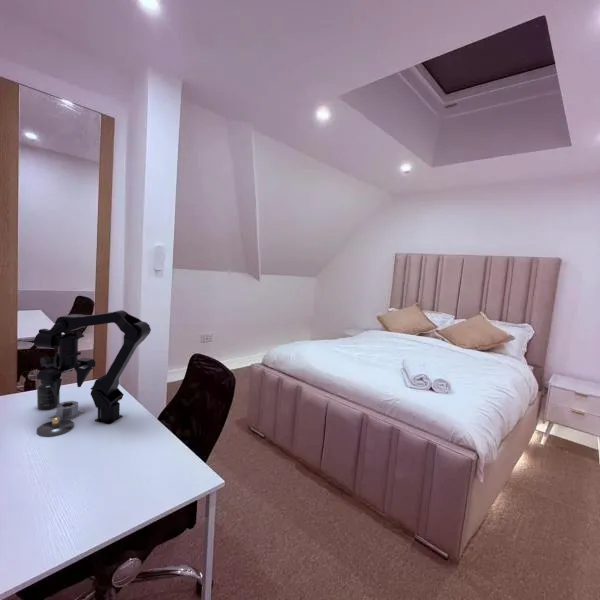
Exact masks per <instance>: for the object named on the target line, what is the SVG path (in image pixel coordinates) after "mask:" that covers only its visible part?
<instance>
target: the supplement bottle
mask: <svg viewBox="0 0 600 600" xmlns="http://www.w3.org/2000/svg"><path fill="white" fill-rule="evenodd" d="M39 381H40V382H39V383H40V384H39V385H37V387H36V397H37V398H36V399H37V402H36V403H37V404H36V405H37V409H38V410H39V411H49V410H53V409H54V410H55V409H56V408H57V405H58V404H60V403H61V402H60V401H61V400H60V395H61V391H59V395H58V396H54V394H53V391H52V389H51V387H50V386H49V384H48V383H47V382H46V381H42V380H39Z"/></svg>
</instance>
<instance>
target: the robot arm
mask: <svg viewBox="0 0 600 600" xmlns="http://www.w3.org/2000/svg"><path fill="white" fill-rule="evenodd" d="M112 323H114V324H115V325H116V326H117V328H118V329H119V330H120V331H121V332H122V333H124V335H123V343H122V346H121V347H120V349H119V351H118V352H117V355H116V356H115V358H114V360H113V362H112V363H111V365H110V367H109V368H108V370H107V372H106V374H104V375H102V376H101V377H98V378H97V379H95V381H94V383H93V386H92V387H91V388H90V390H91V391H90V396H91V398H92V401H93V402H94V403H93V404H94V406H95V408H97V418H96V419H94V422H97V423H100V424H106V425H111V424H113V423H114V422H117V421H118V420H120V419H122V418H123V415H122V414H120V408H121V406H120V401H121V400H123V398H124V393H123V392H122V391H121V390H120V389H119V385H120V377H121V376H122V374H123V373H124V370H125V368H126V366H127V365H128V363H129V361H130V360H131V359H132V356H133V355H134V352H135V351H136V349H137V348H138V346H139V345H140V344H142V343H143V342H144V341H145V339H146V338H147V337H148V336H149V335H150V333H151V331H152V329H151V325H150V324H149V323H148V322H146V321H142V320H141V319H139V317H136V316H134V315H131V314H130V313H128V312H127V311H125V310H123V309H121V310H116V311H111V312H103V313H97V314H95V313H94V314H89V315H88V314H86V315H85V314H79V313H78V314H77V313H75V314H74V313H72V314H68V315H62V316H59V317H56V320H55V323H54V325H52V327H51V328H50V329H48V328H41V329H39V330H38V333H37V334H36V335H35V337H34V339H33V345H34V347H36V348H39V349H50V350H52V349H54V350H55V349H58V352H55V354H54V357H50V356H49V355H48V356H43V357H40V361H39V363H40V366H41V367H42V368H43V367H45V368H44V369H42V370H39V371H38V372H37V374H36V380H39V381H40V380H42V381H46V382H47V383H48V384H49V386H50V387H51V389H52V391H53V394H54V396H58V395H59V391H60V390H61V385H62V380H63V378H61V377H62V374H64V373H66V372H67V373H68V372H70V371H73V370H74V371H75V373H76V385H77V388H81V387H82V385H83V384H84V382H85V380H86V378H87V377H88V375H89V373H90V372H91V370H93V368H94V367H96V360H95V359H94V358H88V357H82V358H79V356H81V354H82V353H81V351H79V340H80V339H83V338H84V337H85V335H84V334H83V333H81V332H80V331H79V330H80V329H81V328H85V327H91V326H97V325H107V324H112ZM76 330H77V331H76ZM72 331H74V332H72ZM63 333H64V334H63ZM51 367H53V368H51ZM60 392H61V391H60Z"/></svg>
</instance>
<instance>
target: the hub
mask: <svg viewBox="0 0 600 600" xmlns="http://www.w3.org/2000/svg"><path fill="white" fill-rule="evenodd" d="M74 426H75V423H74V421H72V420H60V417H54V418H52V419H51V421H48V422H45V423H42V424H41V425H39V426H38V427H37V428H36V435H37V436H39V437H40V438H41V437H42V438H52V437H58V436H62V435H64V434H68V432H71V431H72V430H73V429H74Z"/></svg>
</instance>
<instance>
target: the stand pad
mask: <svg viewBox="0 0 600 600" xmlns="http://www.w3.org/2000/svg"><path fill="white" fill-rule="evenodd" d="M86 413H87V412H85V411H80V410H78V415H77V416H75V417H73V418H70V419H63V420H71V421H72V420H73V419H76V418H78V417H80V416H82V415H84V414H86ZM54 417H56V414H54V415H52V416H50V417H48V419H51V420H52V418H54ZM60 420H62V419H60Z"/></svg>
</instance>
